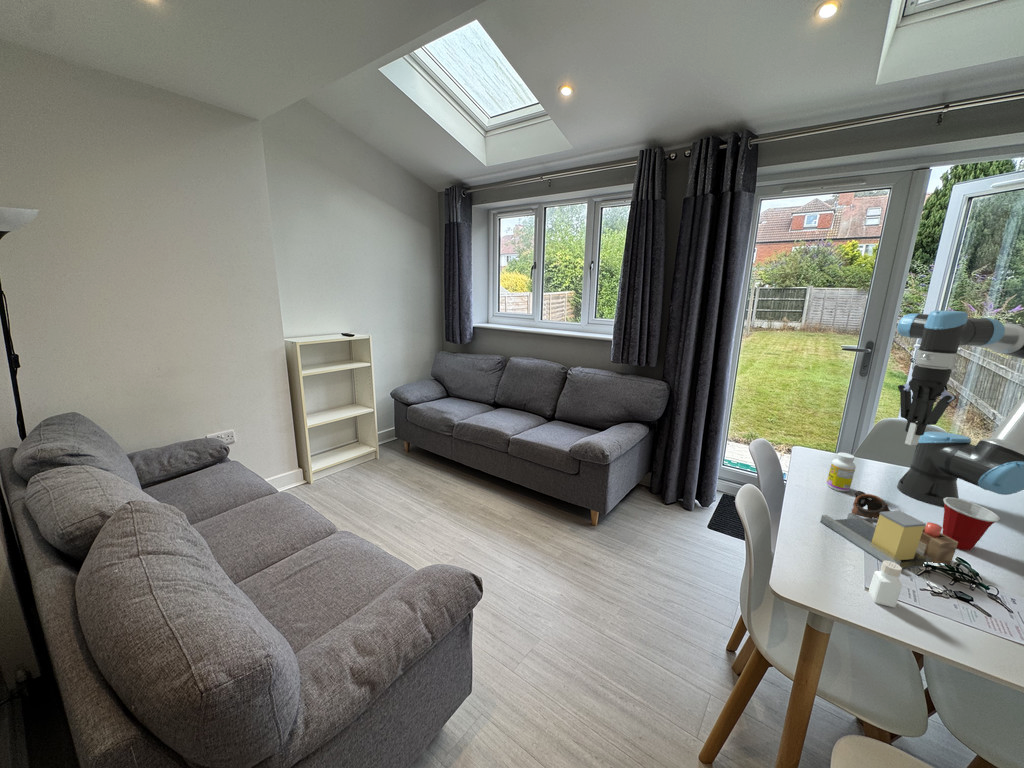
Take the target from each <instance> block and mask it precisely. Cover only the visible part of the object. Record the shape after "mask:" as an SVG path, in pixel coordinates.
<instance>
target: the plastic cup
mask: <svg viewBox="0 0 1024 768" xmlns="http://www.w3.org/2000/svg"><path fill="white" fill-rule="evenodd" d="M943 501H944V506H943V507H944V508H943V517H942V518H943V521H942V532H941V533H942V534H944V535H946V536H947V537H949V538H951V539H953V540H955V541H957V542H958V545H957V548H956V550H957V549H958V550H961V551H969V552H970V551H971V550H973V549H974V547H975V545H976V544H977V543H978V542H979V541H980V540H981V539H982V537H983V536H984V535H985V533H986V532H987V531H988V529H989V528H990V527H991V526H992V525H993V524H994V523H997V522H999V521H1000V520H1001V518H1000V516H999V515H998V514H997V513H995V512H993V511H992V510H990V509H988V508H986V507H984V506H982V505H979V504H977V503H974V502H972V501H968V500H965V499H961V498H959V499H957V498H949V497H946V498H944V499H943Z"/></svg>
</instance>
